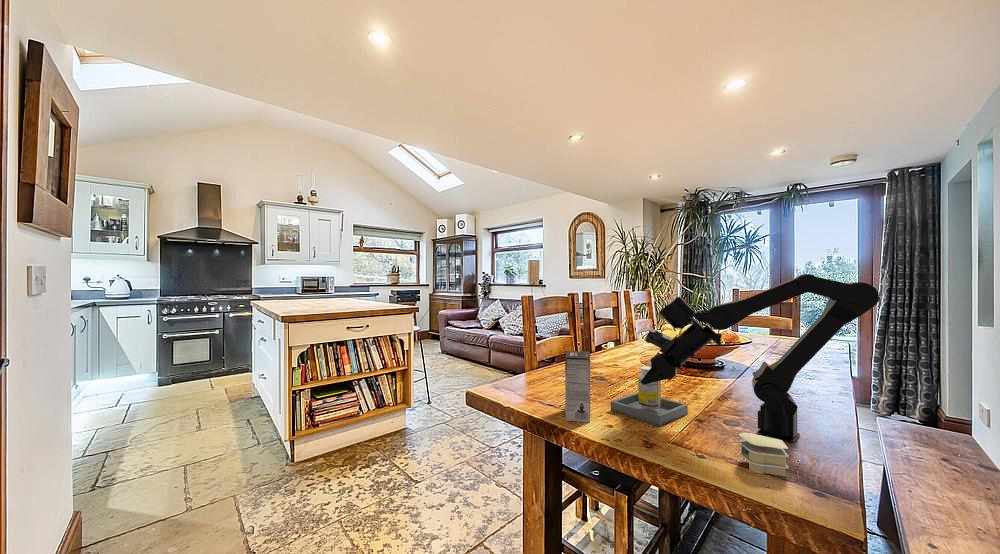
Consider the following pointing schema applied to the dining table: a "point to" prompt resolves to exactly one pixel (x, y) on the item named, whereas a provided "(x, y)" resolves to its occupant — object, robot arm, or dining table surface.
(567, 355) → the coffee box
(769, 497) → the dining table surface
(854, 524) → the dining table surface
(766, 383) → the robot arm
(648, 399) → the supplement bottle
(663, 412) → the tray
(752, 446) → the stacked layers on plate
